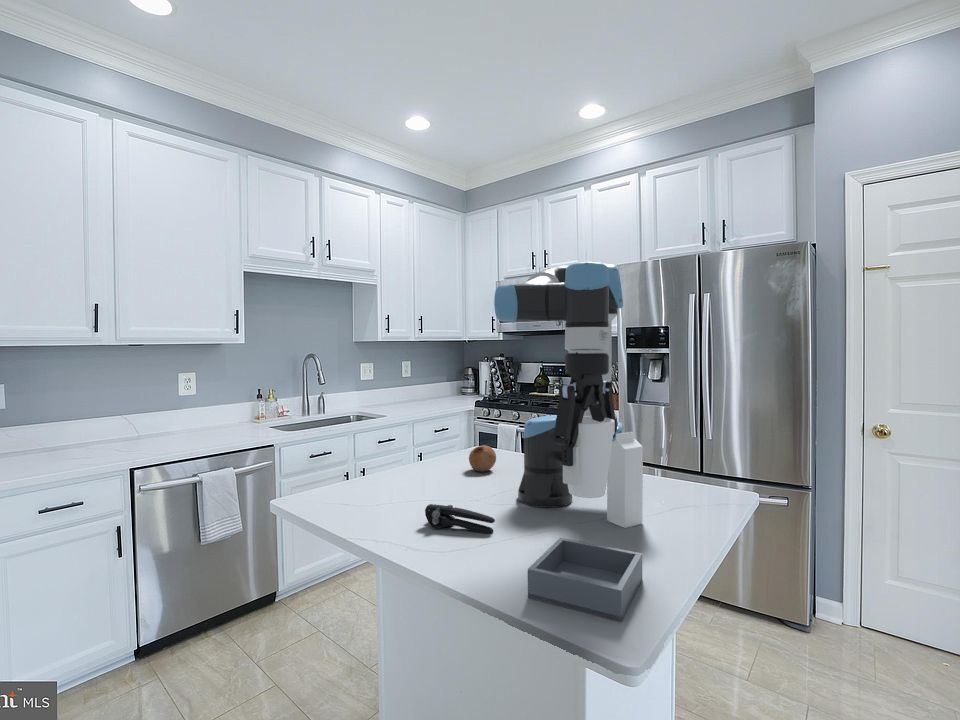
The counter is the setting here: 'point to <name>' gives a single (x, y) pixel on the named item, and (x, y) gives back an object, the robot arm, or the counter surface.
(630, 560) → the bin
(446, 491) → the counter surface
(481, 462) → the onion
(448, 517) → the can opener
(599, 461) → the foam cup
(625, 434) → the pale carton
